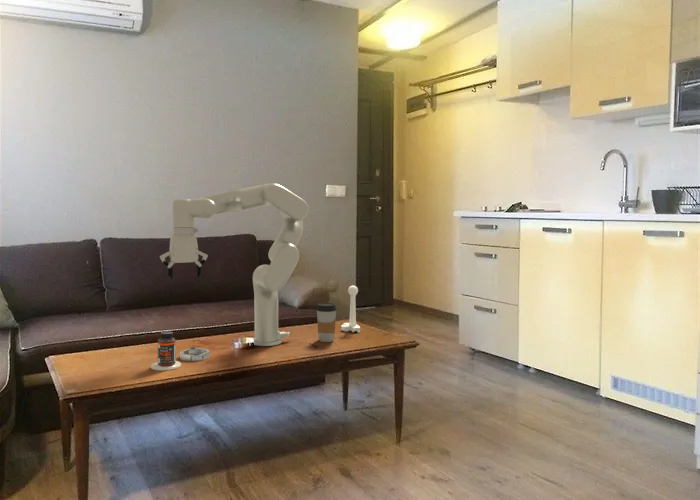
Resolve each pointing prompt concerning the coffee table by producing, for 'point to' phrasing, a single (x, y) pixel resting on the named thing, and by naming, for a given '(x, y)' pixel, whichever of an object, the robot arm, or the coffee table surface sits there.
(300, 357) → the coffee table surface
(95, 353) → the coffee table surface
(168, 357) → the supplement bottle
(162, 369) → the coaster
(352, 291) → the joystick
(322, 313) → the coffee cup
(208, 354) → the ring holder
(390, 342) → the coffee table surface
